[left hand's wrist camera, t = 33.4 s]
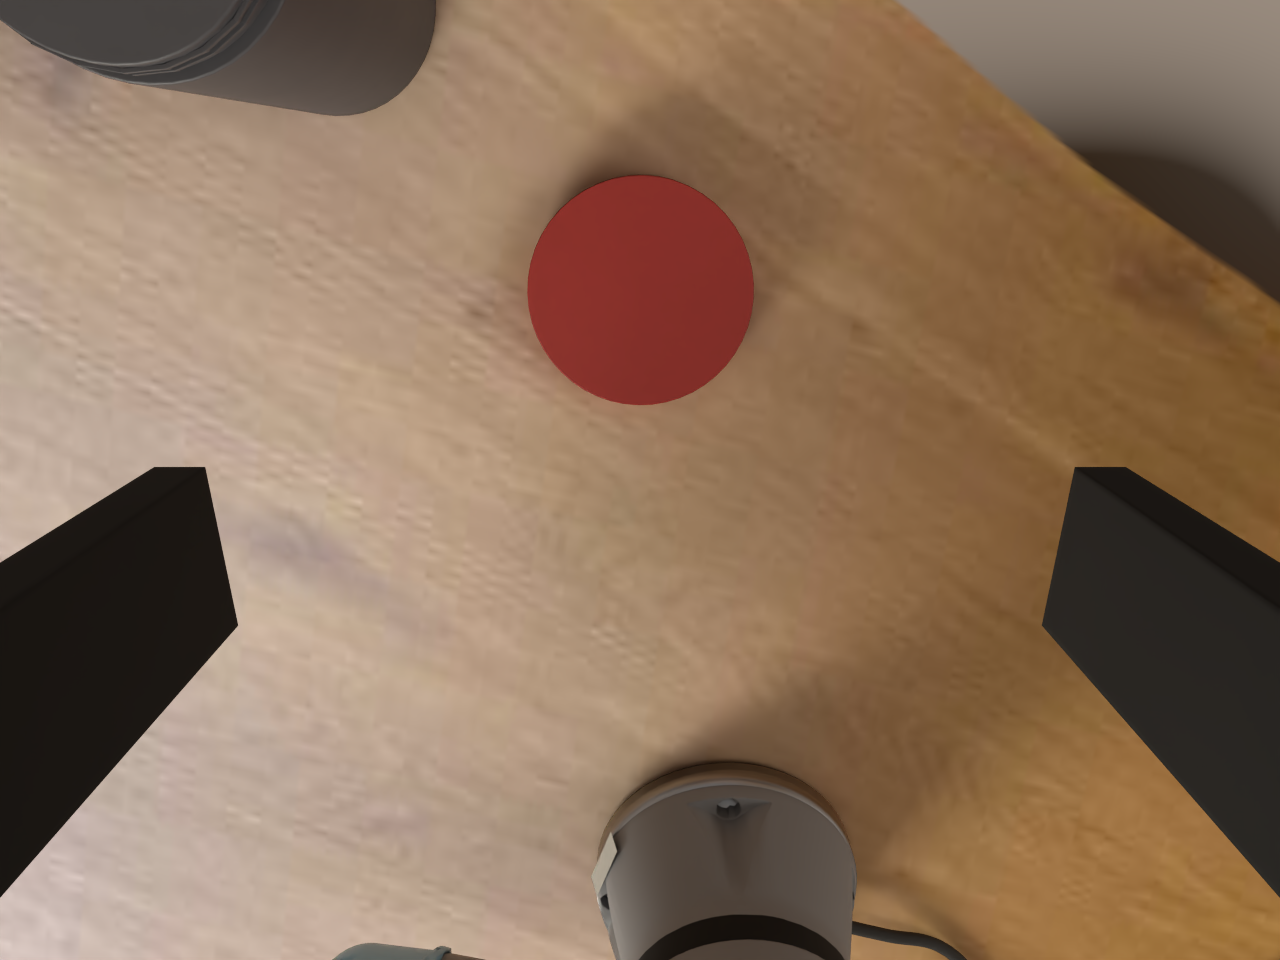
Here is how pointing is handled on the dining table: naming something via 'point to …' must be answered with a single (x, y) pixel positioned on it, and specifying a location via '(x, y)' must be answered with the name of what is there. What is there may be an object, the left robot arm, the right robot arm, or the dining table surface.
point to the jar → (241, 46)
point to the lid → (640, 290)
